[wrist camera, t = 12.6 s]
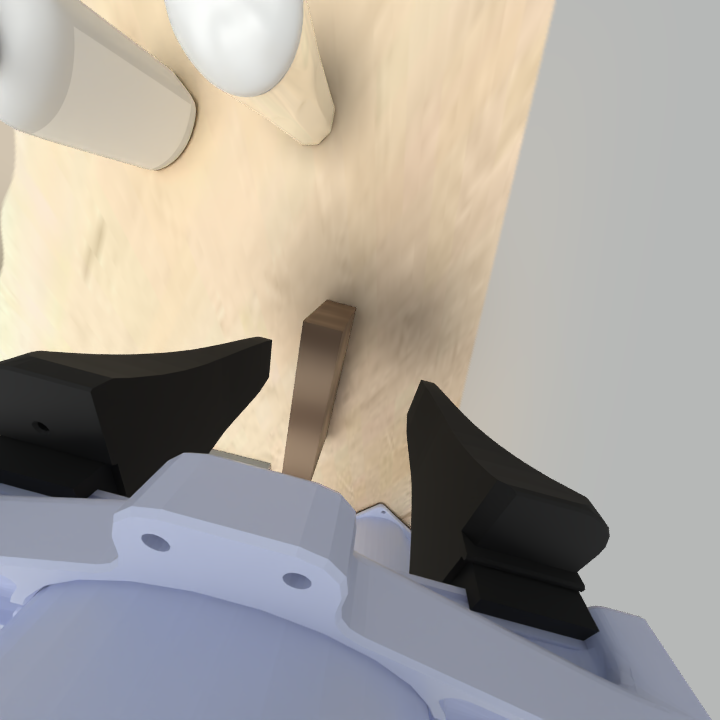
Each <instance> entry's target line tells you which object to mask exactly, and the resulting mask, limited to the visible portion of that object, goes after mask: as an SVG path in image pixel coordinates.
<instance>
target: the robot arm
mask: <svg viewBox="0 0 720 720" xmlns="http://www.w3.org/2000/svg"><path fill="white" fill-rule="evenodd" d="M271 348H272V340H270V339H266V338H262V337H253V338H247V339H243V340H238V341H234V342H229V343H225V344H220V345H215V346H210V347H205V348H199V349H193V350H186V351H178V352H168V353H152V354H128V355H111V354H80V353H64V352H49V351H35V352H30V353H27V354H24V355H20V356H17V357H14V358H11V359H7V360H4V361H1V362H0V720H711V718H710V717H709V715H708V714H707V712H706V711H705V709H704V708H703V706H702V705H701V703H700V702H699V700H698V699H697V697H696V696H695V694H694V693H693V691H692V690H691V688H690V687H689V685H688V684H687V682H686V681H685V679H684V678H683V676H682V675H681V673H680V672H679V670H678V669H677V667H676V666H675V664H674V662H673V661H672V659H671V658H670V657H669V655H668V654H667V652H666V650H665V649H664V647H663V646H662V644H661V643H660V641H659V640H658V639H657V637H656V635H655V634H654V632H653V631H652V630H651V628H650V626H649V625H648V623H647V622H646V620H645V619H643V618H641V617H639V616H636V615H632V614H628V613H625V612H621V611H617V610H613V609H610V608H607V607H602V606H591V607H586V604H585V603H584V601H583V599H582V597H581V595H580V593H579V591H580V592H582V591H584V590H585V585H584V583H583V582H582V580H581V578H580V576H579V575H578V573H577V572H578V571H579V570H580V569H581V568H583V567H584V566H585V565H586V564H588V563H589V562H590V561H591V560H592V559H594V558H595V557H596V556H597V555H599V554H600V552H601V551H602V550H603V549H604V548H605V547H606V544H607V542H608V539H609V537H610V536H609V527H608V526H607V524H606V523H605V521H604V520H603V519H602V517H601V516H600V514H599V513H598V512H597V510H596V509H595V508H594V506H593V505H592V504H591V502H590V501H589V500H588V499H587V498H586V497H585V496H583V495H581V494H579V493H577V492H575V491H573V490H572V489H570V488H568V487H566V486H564V485H562V484H560V483H558V482H557V481H555V480H553V479H551V478H549V477H548V476H546V475H544V474H542V473H541V472H539V471H537V470H536V469H534V468H532V467H531V466H529V465H528V464H526V463H524V462H523V461H521V460H520V459H518V458H517V457H515V456H514V455H512V454H511V453H510V452H508V451H507V450H505V449H504V448H503V447H501V446H500V445H498V444H497V443H496V442H494V441H493V440H492V439H491V438H489V437H488V436H487V435H486V434H485V433H483V432H482V431H481V430H480V429H478V427H476V426H475V425H474V424H473V423H472V422H471V421H470V420H469V419H468V418H467V417H466V416H465V415H464V414H463V413H462V412H461V411H460V410H459V409H458V408H457V407H456V406H455V405H454V404H453V403H452V402H451V401H450V399H449V398H448V397H447V396H446V395H445V394H444V393H443V392H442V391H441V390H440V389H439V388H438V387H437V386H436V385H435V384H434V383H431V382H427V381H423V380H421V381H420V384H419V386H418V389H417V391H416V394H415V396H414V399H413V401H412V404H411V406H410V409H409V411H408V414H407V442H408V451H409V460H410V469H411V482H412V514H411V530H410V529H409V528H408V527H406V526H405V525H404V524H403V523H402V522H401V521H400V520H399V519H398V518H397V517H396V516H395V515H394V514H393V513H392V512H391V511H390V510H388V509H387V508H386V507H385V506H384V505H383V504H378V505H376V506H374V507H371V508H369V509H366V510H364V511H362V512H359V513H357V514H356V511H355V510H354V509H353V508H352V507H351V506H350V504H349V503H348V502H347V501H346V500H345V499H344V497H343V496H342V495H341V494H340V493H339V492H337V491H334V490H332V489H330V488H328V487H326V486H324V485H322V484H320V483H317V482H313V481H309V480H305V479H302V478H298V477H294V476H291V475H287V474H283V473H279V472H276V471H272V470H268V469H265V468H261V467H257V466H253V465H250V464H246V463H242V462H239V461H235V460H231V459H227V458H224V457H220V456H216V455H213V454H209V453H210V451H211V450H212V448H213V447H214V446H215V444H216V443H217V441H218V440H219V439H220V437H221V436H222V434H223V433H224V432H225V431H226V429H227V428H228V427H229V426H230V425H231V424H232V422H233V421H234V420H235V419H236V418H237V417H238V416H239V415H240V413H241V412H242V411H243V410H244V409H245V408H246V407H247V406H248V405H249V403H250V402H251V401H252V400H253V399H254V398H255V397H256V395H257V394H258V393H259V392H260V390H261V389H262V387H263V386H264V384H265V383H266V381H267V379H268V378H269V371H270V359H271Z"/></svg>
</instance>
